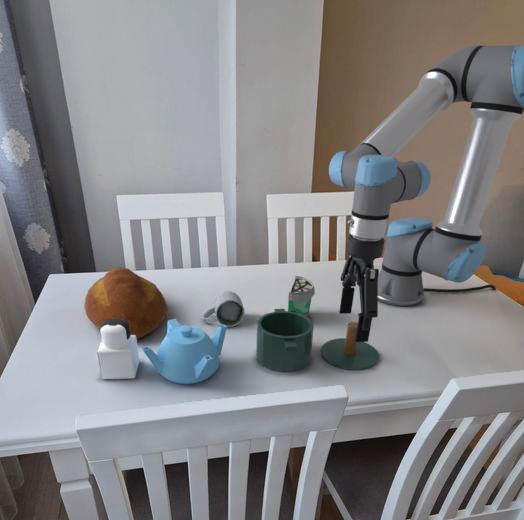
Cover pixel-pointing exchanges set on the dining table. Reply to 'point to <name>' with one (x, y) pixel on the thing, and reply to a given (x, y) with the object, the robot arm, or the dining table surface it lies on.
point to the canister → (284, 341)
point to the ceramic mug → (226, 310)
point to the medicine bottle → (117, 350)
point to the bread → (126, 301)
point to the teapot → (187, 353)
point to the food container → (301, 296)
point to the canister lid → (349, 351)
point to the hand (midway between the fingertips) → (352, 326)
